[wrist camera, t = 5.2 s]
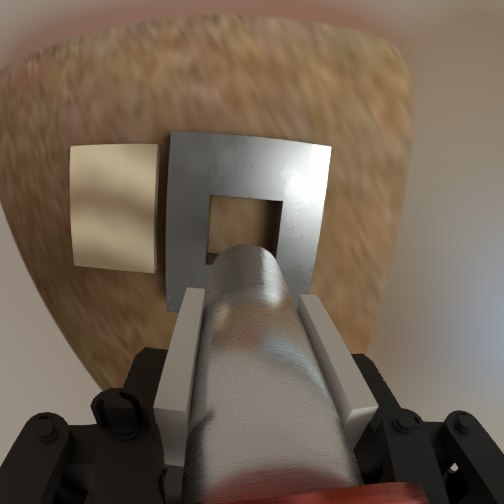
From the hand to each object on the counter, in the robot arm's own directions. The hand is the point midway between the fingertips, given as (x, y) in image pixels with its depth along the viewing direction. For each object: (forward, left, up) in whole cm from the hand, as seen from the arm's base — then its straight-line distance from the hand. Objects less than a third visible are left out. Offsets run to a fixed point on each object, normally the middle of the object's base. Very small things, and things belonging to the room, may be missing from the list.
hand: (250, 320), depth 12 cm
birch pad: (+1, +12, -16) cm, 20 cm away
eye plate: (0, 0, -16) cm, 16 cm away
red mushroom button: (0, 0, -5) cm, 5 cm away
